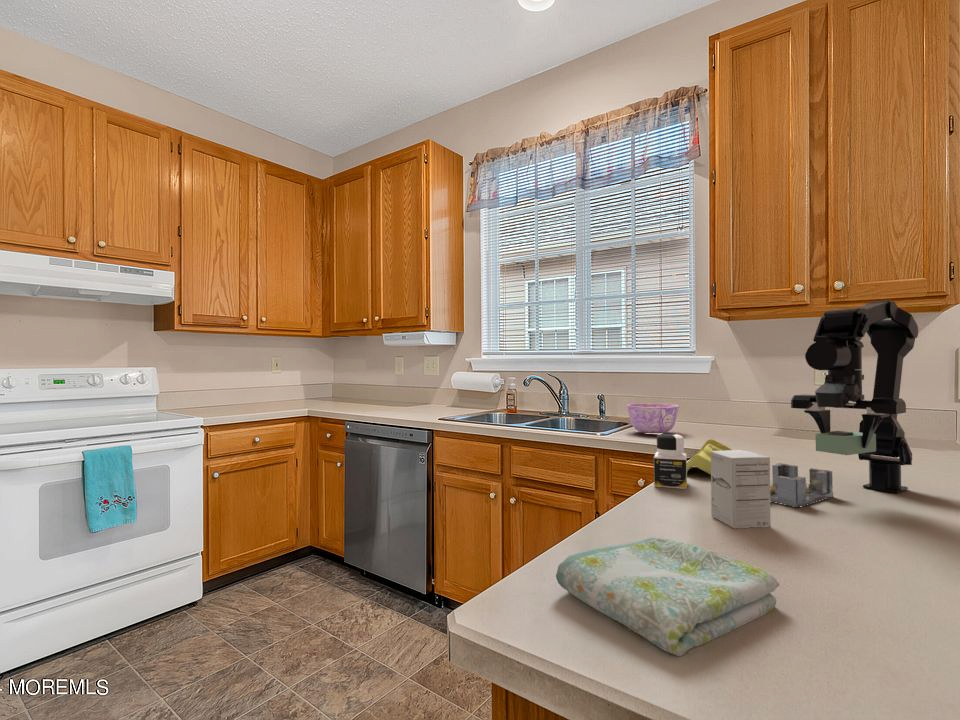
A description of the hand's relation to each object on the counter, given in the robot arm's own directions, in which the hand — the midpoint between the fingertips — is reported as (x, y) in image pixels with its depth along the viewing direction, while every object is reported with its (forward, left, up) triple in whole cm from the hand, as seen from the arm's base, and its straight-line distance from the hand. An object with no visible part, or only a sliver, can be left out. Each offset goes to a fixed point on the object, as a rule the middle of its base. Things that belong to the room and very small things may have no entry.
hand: (845, 445), depth 106 cm
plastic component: (-6, -34, -12) cm, 37 cm away
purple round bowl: (-50, -89, -12) cm, 103 cm away
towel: (+67, +7, -12) cm, 68 cm away
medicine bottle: (+16, -31, -12) cm, 36 cm away
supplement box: (+30, -5, -12) cm, 32 cm away
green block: (0, 0, -1) cm, 1 cm away
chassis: (+5, -9, -12) cm, 16 cm away
